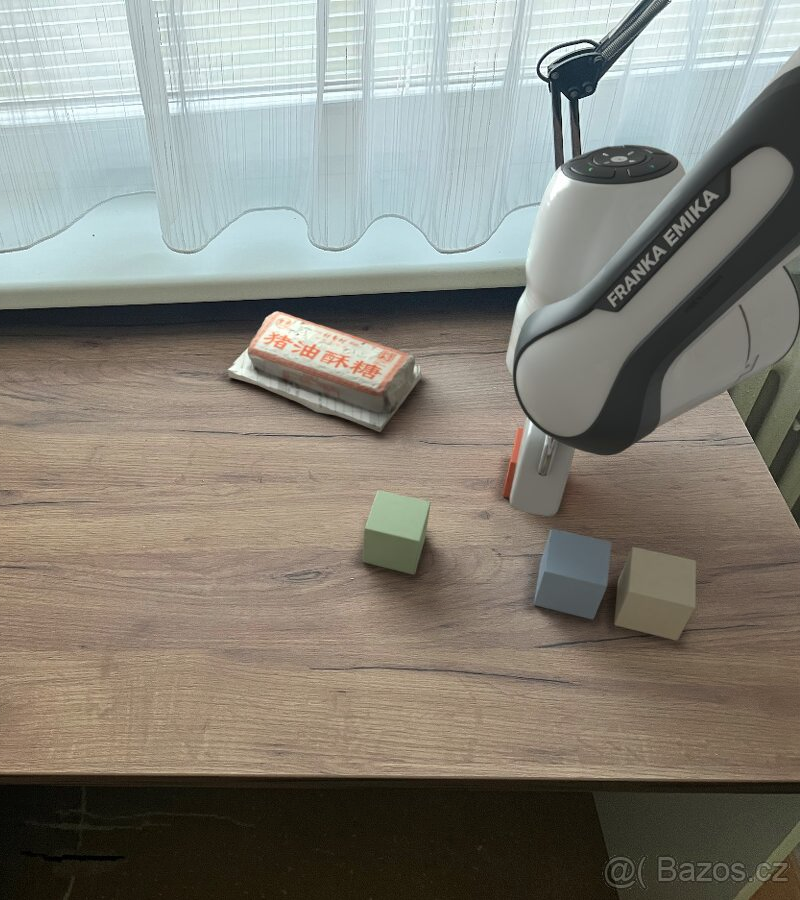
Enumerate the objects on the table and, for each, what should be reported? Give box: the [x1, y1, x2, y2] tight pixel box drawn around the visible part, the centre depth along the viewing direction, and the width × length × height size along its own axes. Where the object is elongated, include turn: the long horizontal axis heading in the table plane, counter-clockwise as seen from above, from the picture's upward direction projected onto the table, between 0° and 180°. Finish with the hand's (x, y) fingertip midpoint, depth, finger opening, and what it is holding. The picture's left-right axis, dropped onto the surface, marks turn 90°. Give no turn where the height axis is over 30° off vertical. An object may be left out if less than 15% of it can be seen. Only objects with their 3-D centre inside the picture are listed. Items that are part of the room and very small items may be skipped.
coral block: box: [502, 427, 524, 499], centre depth 78 cm, size 4×4×4 cm
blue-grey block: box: [533, 528, 612, 620], centre depth 69 cm, size 4×4×4 cm
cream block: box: [613, 546, 697, 641], centre depth 67 cm, size 4×4×4 cm
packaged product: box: [226, 310, 423, 433], centre depth 90 cm, size 18×5×10 cm
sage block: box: [361, 489, 432, 576], centre depth 74 cm, size 4×4×4 cm
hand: (535, 471), depth 78 cm, fingers closed on coral block, 4 cm apart
